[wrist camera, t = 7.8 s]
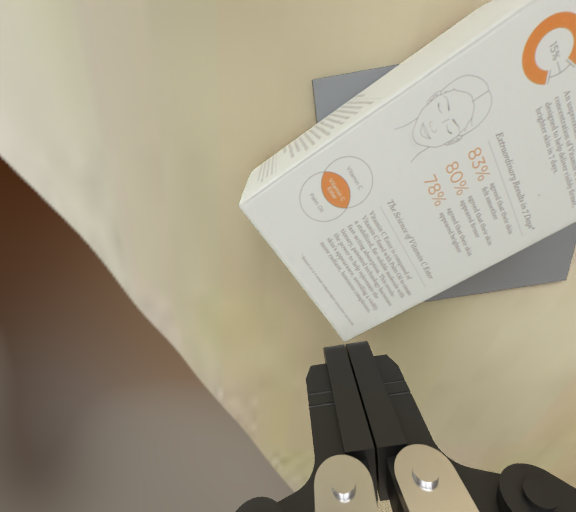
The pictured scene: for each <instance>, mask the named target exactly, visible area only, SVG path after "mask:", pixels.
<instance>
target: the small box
mask: <svg viewBox="0 0 576 512" xmlns="http://www.w3.org/2000/svg"><path fill="white" fill-rule="evenodd" d="M239 208H240V209H241V210H242V212H243V213H244V214H245V215H246V217H247V218H248V219H249V220H250V221H251V223H252V224H253V225H254V226H255V228H256V229H257V230H258V232H259V233H260V234H261V235H262V237H263V238H264V239H265V240H266V242H267V243H268V244H269V245H270V247H271V248H272V249H273V251H274V252H275V253H276V254H277V256H278V257H279V258H280V260H281V261H282V262H283V263H284V265H285V266H286V267H287V268H288V270H289V271H290V272H291V274H292V275H293V276H294V277H295V279H296V280H297V281H298V283H299V284H300V285H301V287H302V288H303V289H304V290H305V292H306V293H307V294H308V296H309V297H310V298H311V299H312V301H313V302H314V303H315V305H316V306H317V307H318V308H319V310H320V311H321V312H322V314H323V315H324V316H325V317H326V319H327V320H328V321H329V323H330V324H331V325H332V327H333V328H334V329H335V331H336V332H337V333H338V335H339V336H340V337H341V339H342V340H343V341H344V342H347V341H349V340H350V339H352V338H354V337H356V336H358V335H360V334H362V333H364V332H366V331H368V330H370V329H372V328H373V327H375V326H377V325H379V324H381V323H383V322H385V321H387V320H389V319H391V318H392V317H394V316H396V315H398V314H400V313H402V312H404V311H406V310H408V309H410V308H412V307H414V306H416V305H418V304H420V303H421V302H423V301H425V300H427V299H429V298H431V297H433V296H435V295H437V294H439V293H441V292H443V291H445V290H446V289H448V288H450V287H452V286H454V285H456V284H458V283H460V282H462V281H464V280H466V279H467V278H469V277H471V276H473V275H475V274H477V273H479V272H481V271H483V270H485V269H487V268H488V267H490V266H492V265H494V264H496V263H498V262H500V261H502V260H504V259H506V258H508V257H510V256H511V255H513V254H515V253H517V252H519V251H521V250H523V249H525V248H527V247H529V246H531V245H533V244H534V243H536V242H538V241H540V240H542V239H544V238H546V237H548V236H550V235H552V234H554V233H556V232H558V231H559V230H561V229H563V228H565V227H567V226H569V225H571V224H573V223H575V222H576V0H493V1H491V2H489V3H487V4H485V5H482V6H480V7H479V8H478V9H476V10H475V11H473V12H472V13H471V14H469V15H468V16H466V17H465V18H463V19H462V20H460V21H459V22H458V23H456V24H455V25H454V26H452V27H451V28H449V29H448V30H447V31H445V32H444V33H442V34H441V35H440V36H438V37H437V38H435V39H434V40H433V41H431V42H430V43H428V44H427V45H426V46H424V47H423V48H422V49H420V50H419V51H417V52H416V53H415V54H413V55H412V56H410V57H409V58H408V59H406V60H405V61H403V62H402V63H401V64H399V65H398V66H396V67H395V68H394V69H392V70H391V71H390V72H388V73H387V74H385V75H384V76H383V77H381V78H380V79H378V80H377V81H376V82H374V83H373V84H371V85H370V86H369V87H367V88H366V89H364V90H363V91H362V92H360V93H359V94H357V95H356V96H355V97H353V98H352V99H350V100H349V101H348V102H346V103H345V104H343V105H342V106H341V107H339V108H338V109H337V110H335V111H334V112H332V113H331V114H330V115H328V116H327V117H325V118H324V119H323V120H321V121H320V122H318V123H317V124H316V125H314V126H313V127H311V128H310V129H309V130H307V131H306V132H305V133H303V134H302V135H300V136H299V137H298V138H297V139H295V140H294V141H292V142H291V143H290V144H288V145H287V146H285V147H284V148H283V149H281V150H280V151H278V152H277V153H276V154H274V155H273V156H272V157H270V158H269V159H267V160H266V161H265V162H263V163H262V164H261V165H259V166H258V167H257V168H255V169H254V170H253V171H252V173H250V176H249V179H248V181H247V184H246V187H245V189H244V191H243V194H242V196H241V200H240V202H239Z"/></svg>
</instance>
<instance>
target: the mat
mask: <svg viewBox="0 0 576 512" xmlns="http://www.w3.org/2000/svg"><path fill="white" fill-rule="evenodd" d="M398 65H399V64H397V65H391V66H386V67H380V68H375V69H369V70H364V71H358V72H353V73H347V74H342V75H336V76H330V77H325V78H319V79H314V80H312V84H313V93H314V102H315V111H316V120H317V123H318V122H320V121H321V120H323V119H324V118H325V117H327V116H328V115H330V114H331V113H332V112H334V111H335V110H337V109H338V108H339V107H341V106H342V105H343V104H345V103H346V102H348V101H349V100H350V99H352V98H353V97H355V96H356V95H357V94H359V93H360V92H362V91H363V90H364V89H366V88H367V87H369V86H370V85H371V84H373V83H374V82H376V81H377V80H378V79H380V78H381V77H383V76H384V75H385V74H387V73H388V72H390V71H391V70H392V69H394V68H395V67H396V66H398ZM575 245H576V222H575V223H573V224H571V225H569V226H567V227H565V228H563V229H561V230H559V231H558V232H556V233H554V234H552V235H550V236H548V237H546V238H544V239H542V240H540V241H538V242H536V243H534V244H533V245H531V246H529V247H527V248H525V249H523V250H521V251H519V252H517V253H515V254H513V255H511V256H510V257H508V258H506V259H504V260H502V261H500V262H498V263H496V264H494V265H492V266H490V267H488V268H487V269H485V270H483V271H481V272H479V273H477V274H475V275H473V276H471V277H469V278H467V279H466V280H464V281H462V282H460V283H458V284H456V285H454V286H452V287H450V288H448V289H446V290H445V291H443V292H441V293H439V294H437V295H435V296H433V297H431V298H429V299H427V300H425V301H423V302H427V301H434V300H440V299H447V298H453V297H460V296H466V295H473V294H479V293H486V292H492V291H499V290H505V289H512V288H518V287H525V286H531V285H538V284H544V283H551V282H557V281H564V280H566V278H567V275H568V271H569V267H570V263H571V260H572V256H573V252H574V248H575Z"/></svg>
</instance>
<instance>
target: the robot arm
mask: <svg viewBox="0 0 576 512" xmlns="http://www.w3.org/2000/svg"><path fill="white" fill-rule="evenodd" d="M323 349H324V357H325V364H320V365H313V366H311V367H310V369H309V372H308V375H307V378H306V384H307V392H308V401H309V410H310V418H311V427H312V436H313V445H314V453H315V464H314V469H313V472H312V474H311V476H310V478H309V480H308V481H307V483H306V484H305V485H304V486H303V487H302V488H301V489H300V490H298V491H297V492H295V493H293V494H292V495H290V496H288V497H286V498H284V499H283V500H281V501H279V502H276V501H274V500H272V499H270V498H267V497H257V498H253V499H251V500H249V501H247V502H245V503H244V504H243V505H241V507H239V509H238V510H237V511H236V512H378V504H377V501H378V497H377V491H378V494H379V498H380V501H383V500H390V504H391V507H392V511H393V512H576V489H575V488H574V487H572V486H570V485H569V484H567V483H565V482H564V481H562V480H560V479H559V478H557V477H555V476H554V475H552V474H550V473H549V472H547V471H545V470H543V469H541V468H538V467H536V466H533V465H529V464H513V465H510V466H508V467H506V468H505V469H504V470H503V472H502V473H501V474H498V473H493V472H488V471H483V470H478V469H473V468H469V467H465V466H463V465H460V464H458V463H456V462H454V461H453V460H451V459H450V458H448V457H447V456H446V455H445V454H444V453H443V452H442V451H441V450H440V449H439V448H438V447H437V445H436V444H435V443H434V441H433V439H432V437H431V435H430V433H429V430H428V428H427V426H426V424H425V422H424V420H423V418H422V416H421V413H420V411H419V409H418V407H417V405H416V403H415V401H414V398H413V396H412V394H411V393H410V390H409V388H408V386H407V384H406V382H405V380H404V377H403V375H402V373H401V371H400V369H399V367H398V365H397V364H396V363H395V362H394V361H393V360H392V359H390V358H389V357H388V356H387V355H380V356H373V354H372V351H371V349H370V346H369V344H368V342H367V341H364V342H357V343H350V344H346V348H345V345H338V346H331V347H325V348H323Z"/></svg>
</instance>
